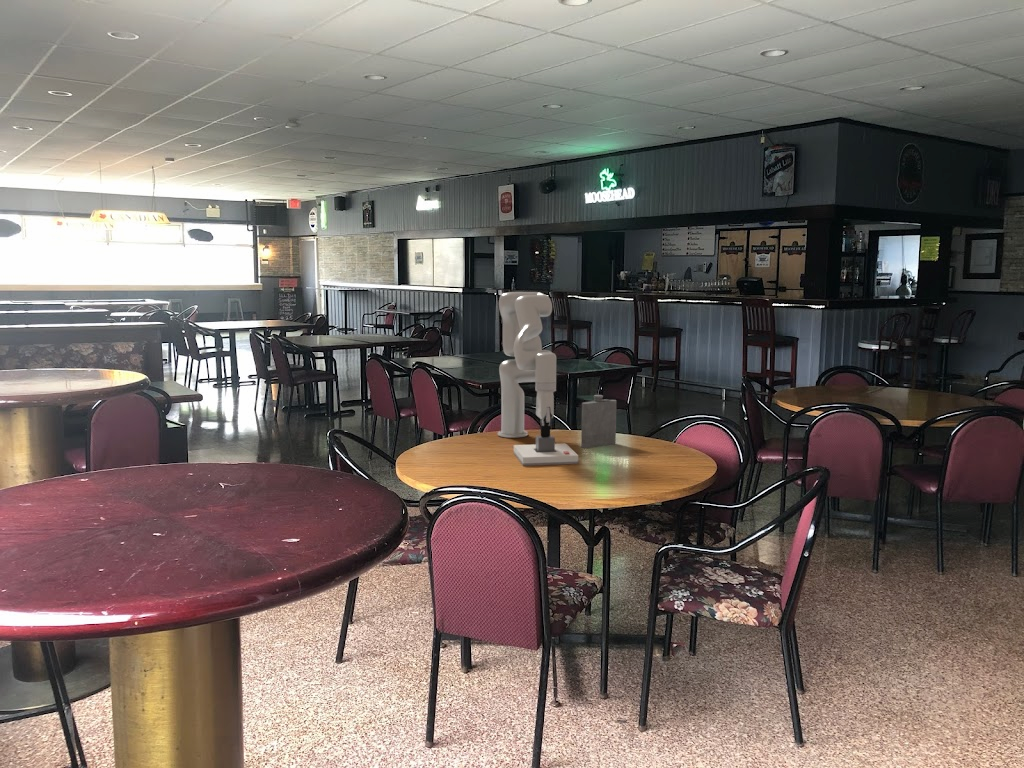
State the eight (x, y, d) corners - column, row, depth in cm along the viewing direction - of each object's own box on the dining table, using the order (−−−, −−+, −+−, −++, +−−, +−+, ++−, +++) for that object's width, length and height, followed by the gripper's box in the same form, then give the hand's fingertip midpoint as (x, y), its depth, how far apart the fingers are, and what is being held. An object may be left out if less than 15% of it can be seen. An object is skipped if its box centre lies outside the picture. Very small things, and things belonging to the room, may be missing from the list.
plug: (535, 454, 296) (535, 435, 295) (551, 454, 297) (551, 435, 296) (538, 457, 291) (538, 438, 290) (554, 457, 292) (554, 437, 291)
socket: (513, 452, 302) (513, 443, 302) (565, 451, 305) (565, 441, 305) (523, 465, 283) (523, 455, 282) (578, 463, 286) (578, 453, 285)
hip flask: (584, 448, 310) (585, 397, 307) (578, 446, 313) (579, 396, 310) (617, 444, 318) (618, 394, 315) (610, 442, 321) (611, 393, 318)
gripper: (531, 384, 297) (531, 432, 299) (539, 389, 282) (539, 441, 285) (551, 383, 298) (551, 432, 301) (560, 389, 283) (559, 440, 286)
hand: (545, 436), depth 293 cm, fingers closed
